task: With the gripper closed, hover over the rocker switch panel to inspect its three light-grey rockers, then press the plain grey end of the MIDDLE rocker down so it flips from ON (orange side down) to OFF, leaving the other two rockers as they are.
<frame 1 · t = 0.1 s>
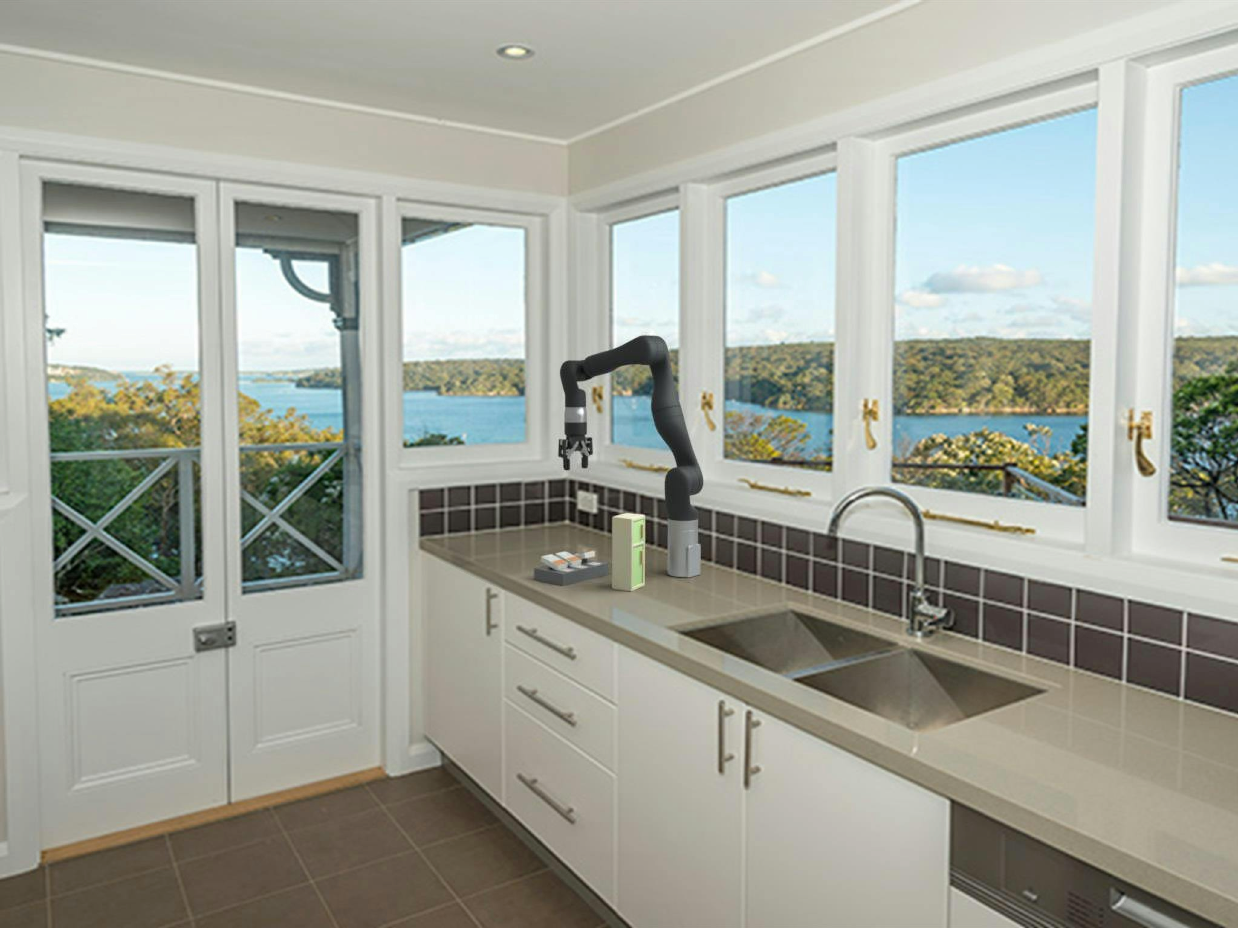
hand: (575, 469, 314), 29 cm above the worktop, fingers open, 8 cm apart
middle rocker: (568, 558, 284), point 5 cm above the worktop, hinge at -15.0°
rocker switch panel: (571, 576, 284), on the worktop
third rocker: (554, 561, 280), point 5 cm above the worktop, hinge at -15.0°
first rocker: (581, 555, 289), point 5 cm above the worktop, hinge at 15.0°
toy refrigerator: (629, 588, 270), on the worktop
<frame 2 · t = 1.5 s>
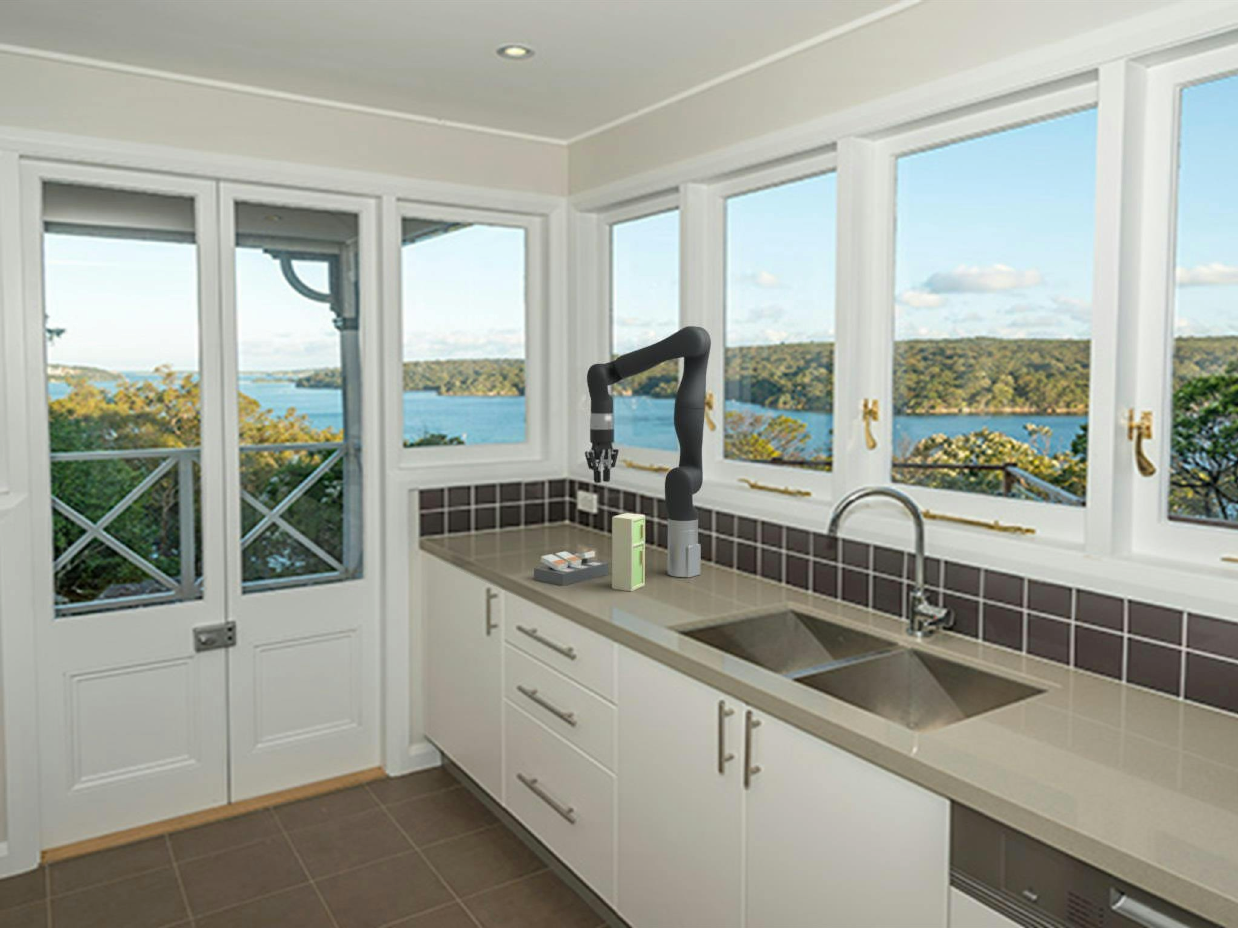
hand: (602, 481, 296), 27 cm above the worktop, fingers open, 3 cm apart
nothing on the worktop moved.
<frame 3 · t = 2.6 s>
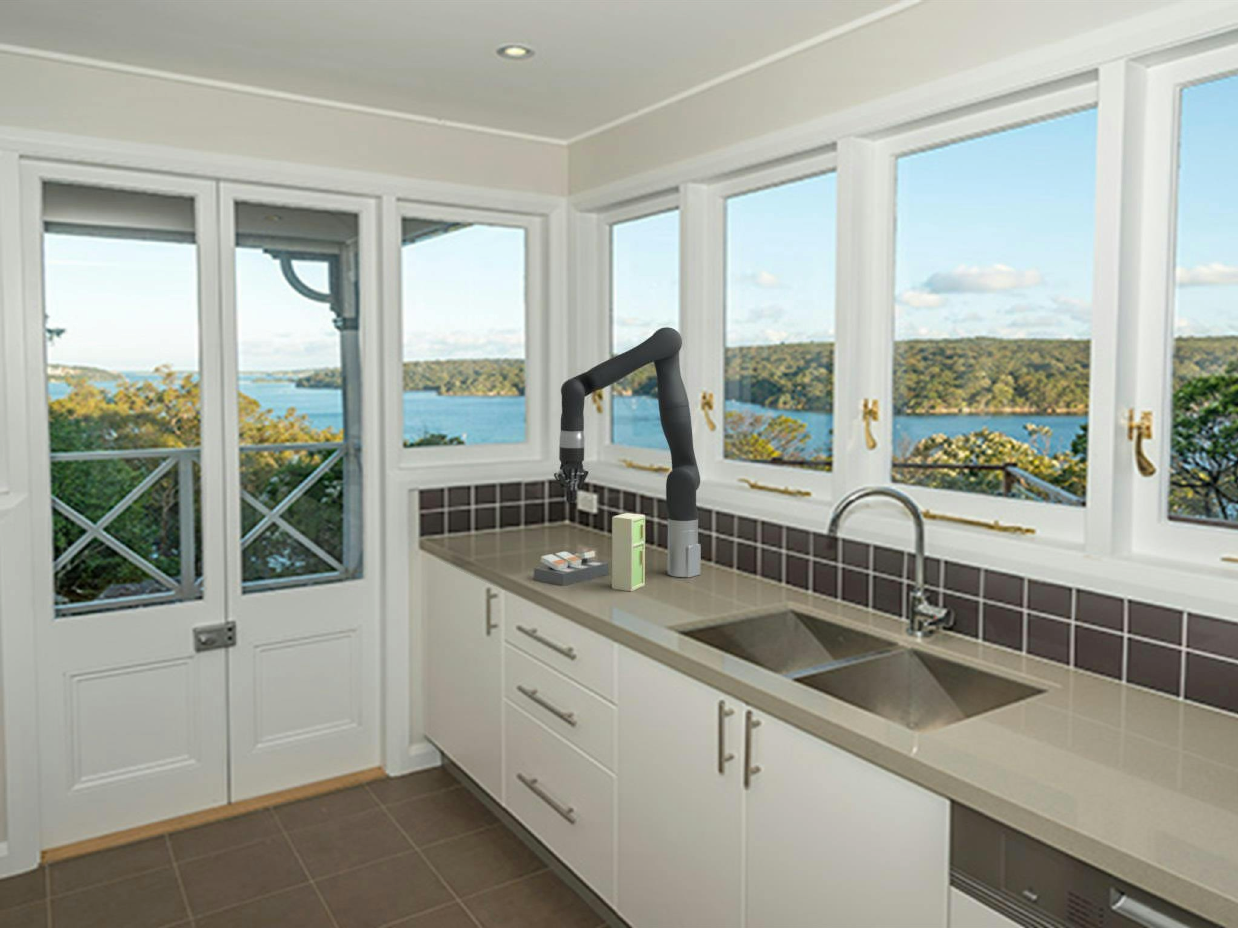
hand: (571, 502, 285), 22 cm above the worktop, fingers closed
nothing on the worktop moved.
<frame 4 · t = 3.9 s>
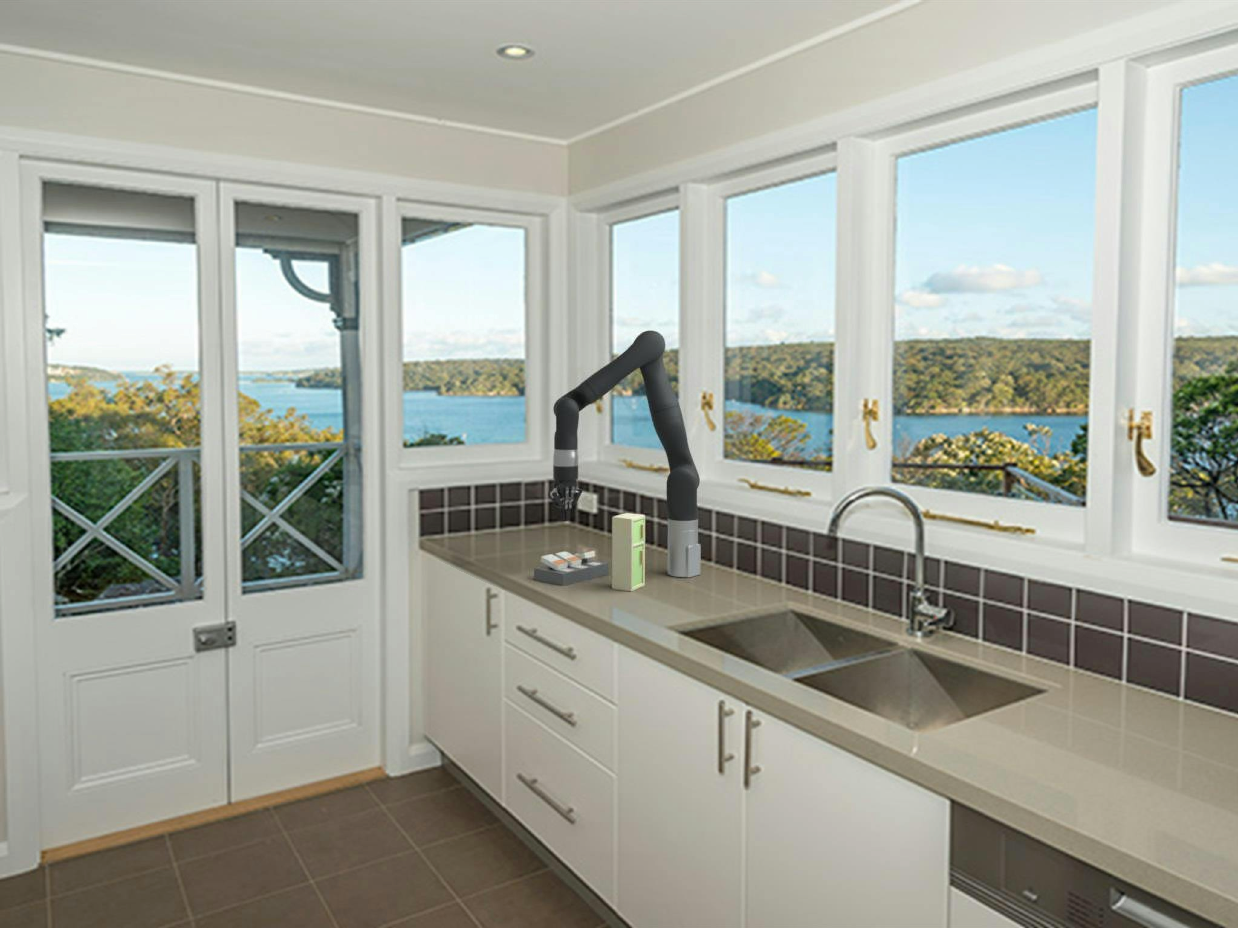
hand: (565, 520, 284), 17 cm above the worktop, fingers closed
nothing on the worktop moved.
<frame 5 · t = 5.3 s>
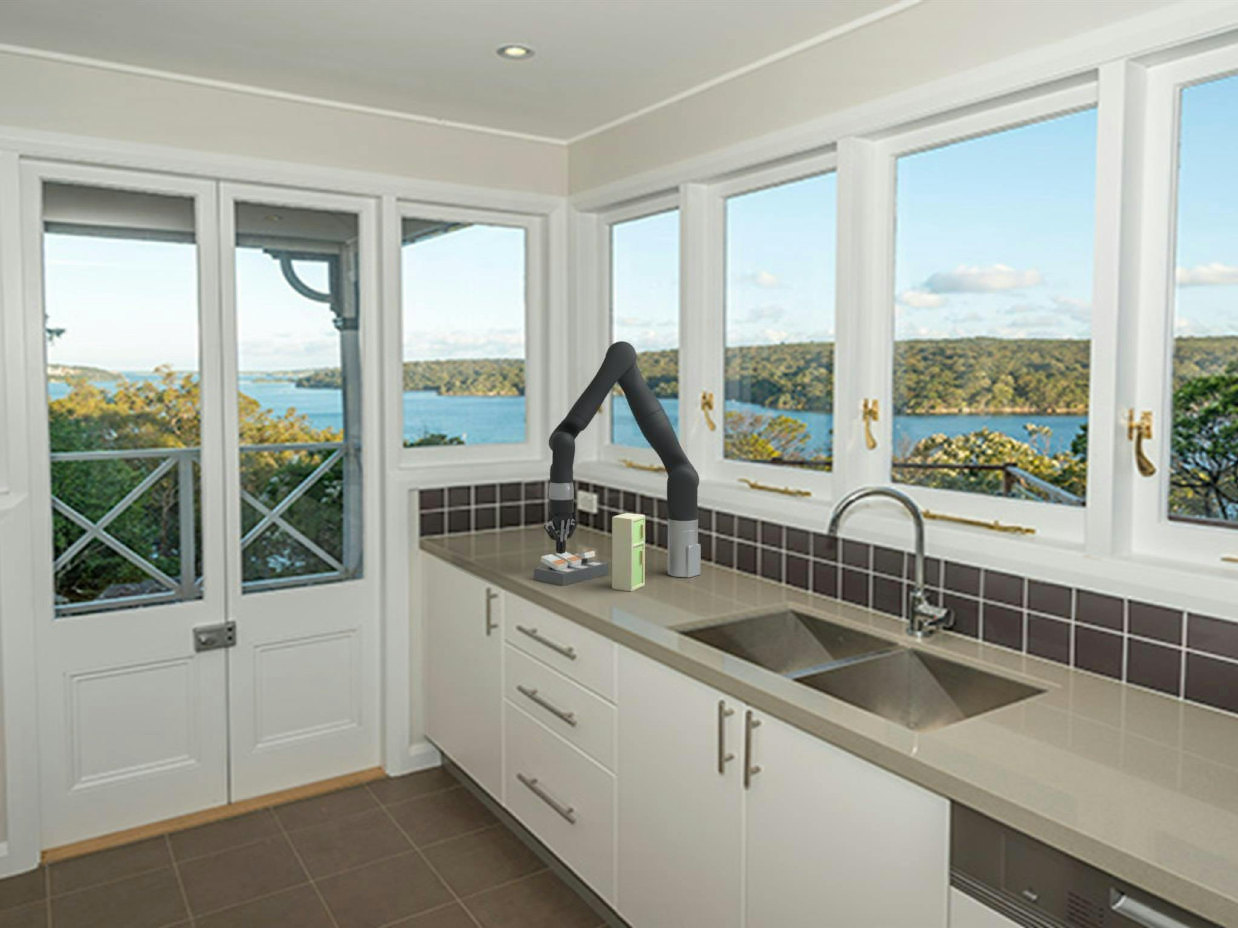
hand: (560, 553, 286), 7 cm above the worktop, fingers closed
middle rocker: (568, 558, 284), point 5 cm above the worktop, hinge at -13.8°, touching gripper
everything else where it was.
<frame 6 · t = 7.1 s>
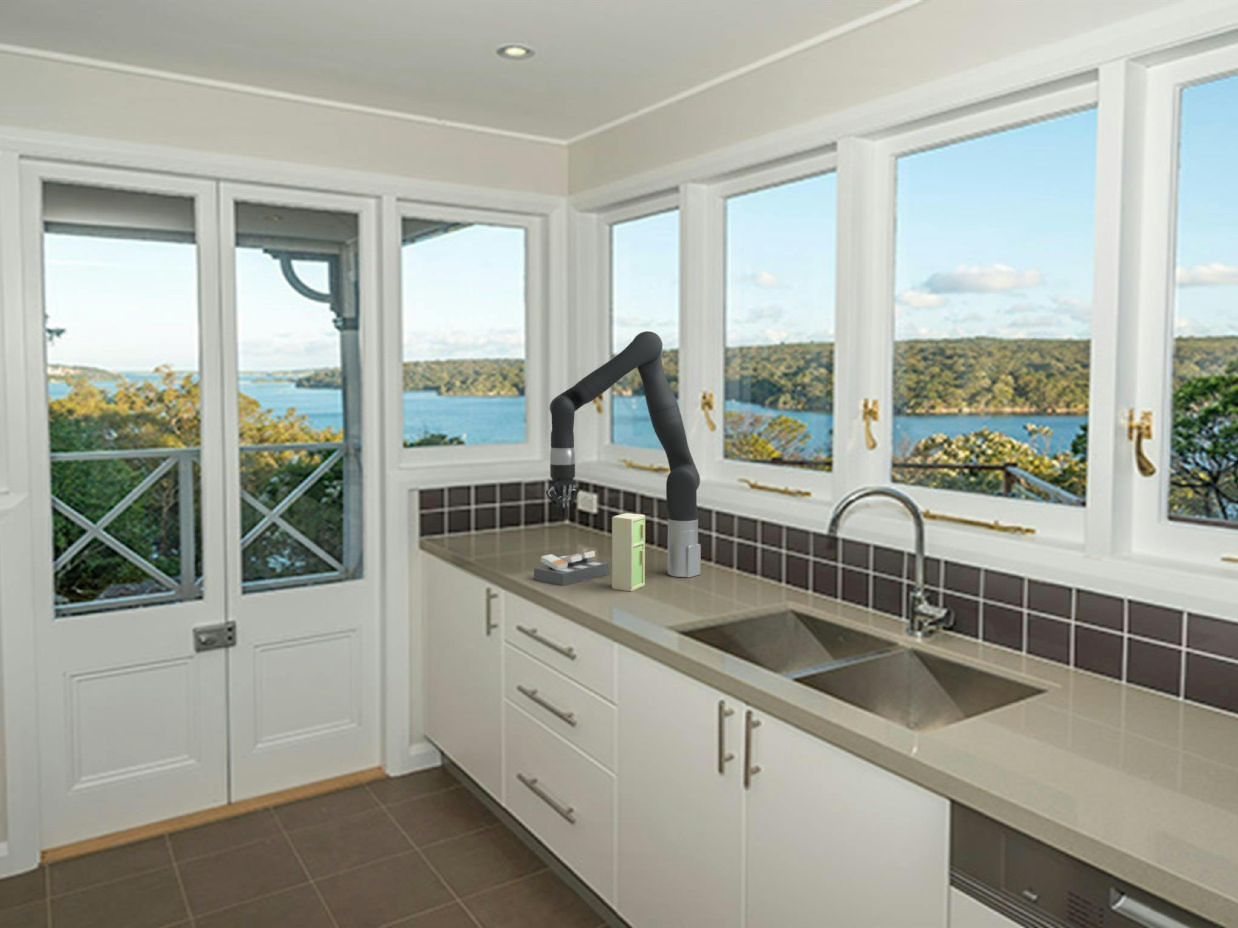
hand: (563, 519, 285), 17 cm above the worktop, fingers closed
middle rocker: (568, 558, 284), point 5 cm above the worktop, hinge at 10.3°
everything else where it was.
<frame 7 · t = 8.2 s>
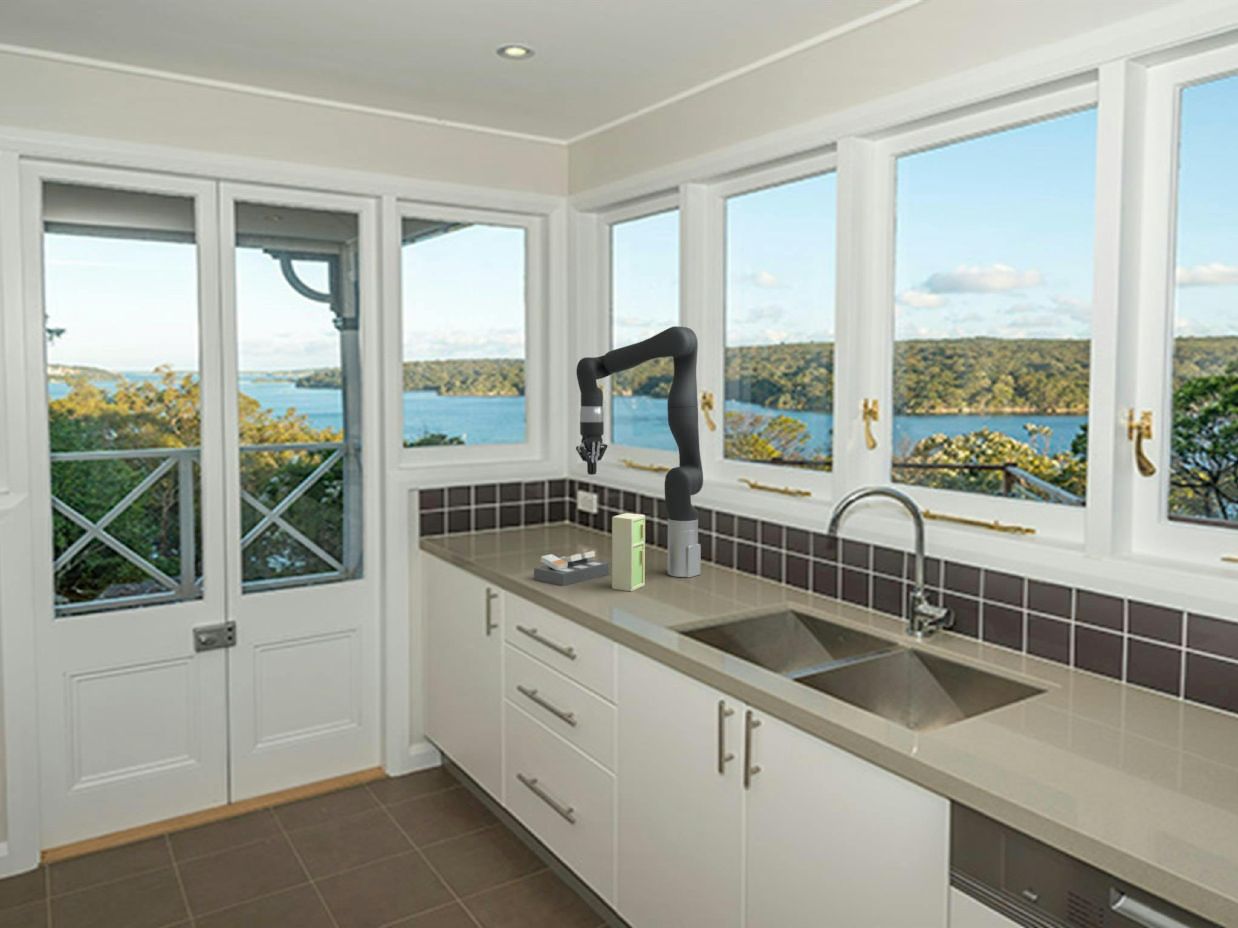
hand: (592, 474, 301), 29 cm above the worktop, fingers closed
middle rocker: (568, 558, 284), point 5 cm above the worktop, hinge at 14.6°
everything else where it was.
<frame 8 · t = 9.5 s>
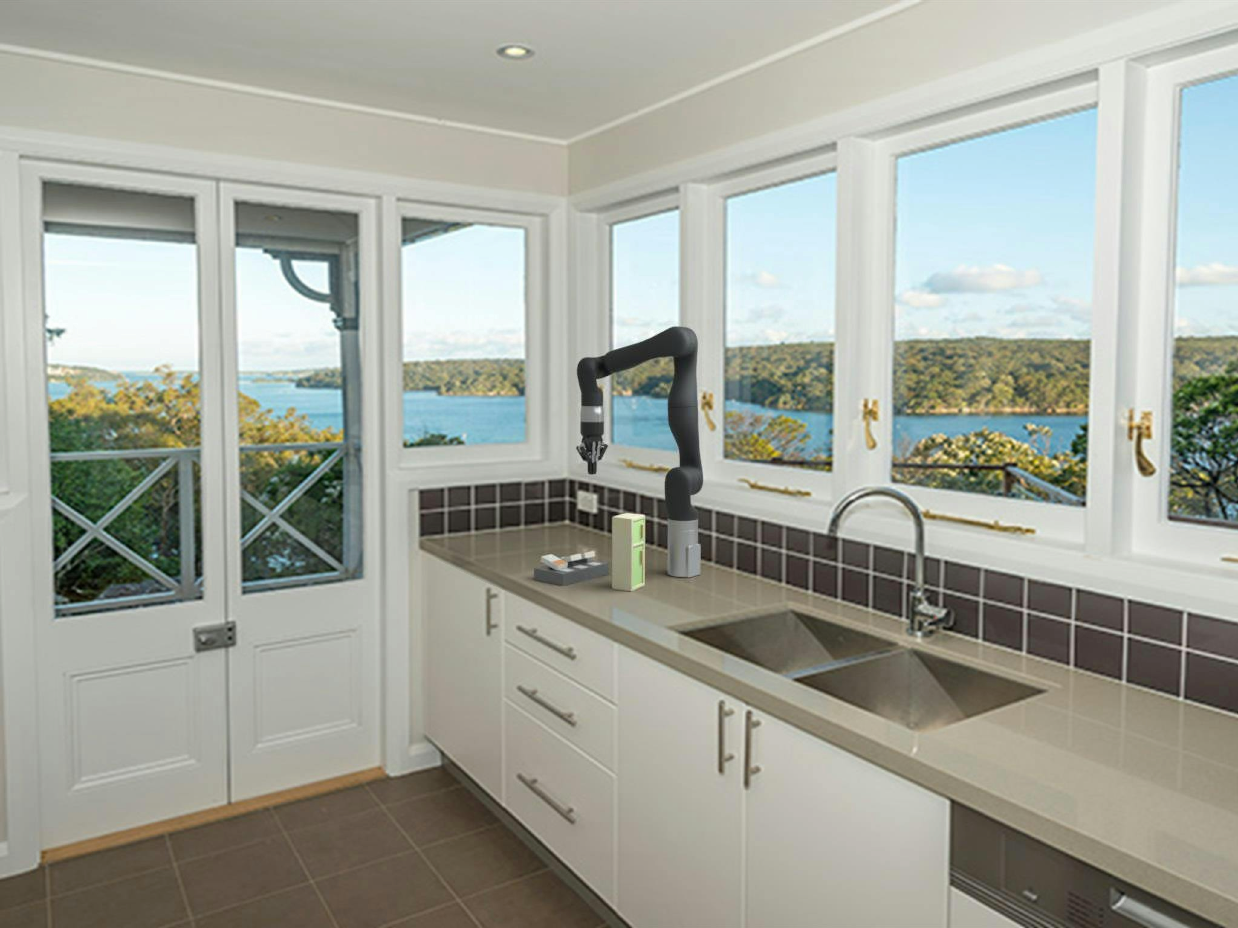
hand: (592, 474, 301), 29 cm above the worktop, fingers closed
middle rocker: (568, 558, 284), point 5 cm above the worktop, hinge at 16.7°
everything else where it was.
at the end: middle rocker at +17° (first picture: -15°); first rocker at +15° (first picture: +15°); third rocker at -15° (first picture: -15°) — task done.
